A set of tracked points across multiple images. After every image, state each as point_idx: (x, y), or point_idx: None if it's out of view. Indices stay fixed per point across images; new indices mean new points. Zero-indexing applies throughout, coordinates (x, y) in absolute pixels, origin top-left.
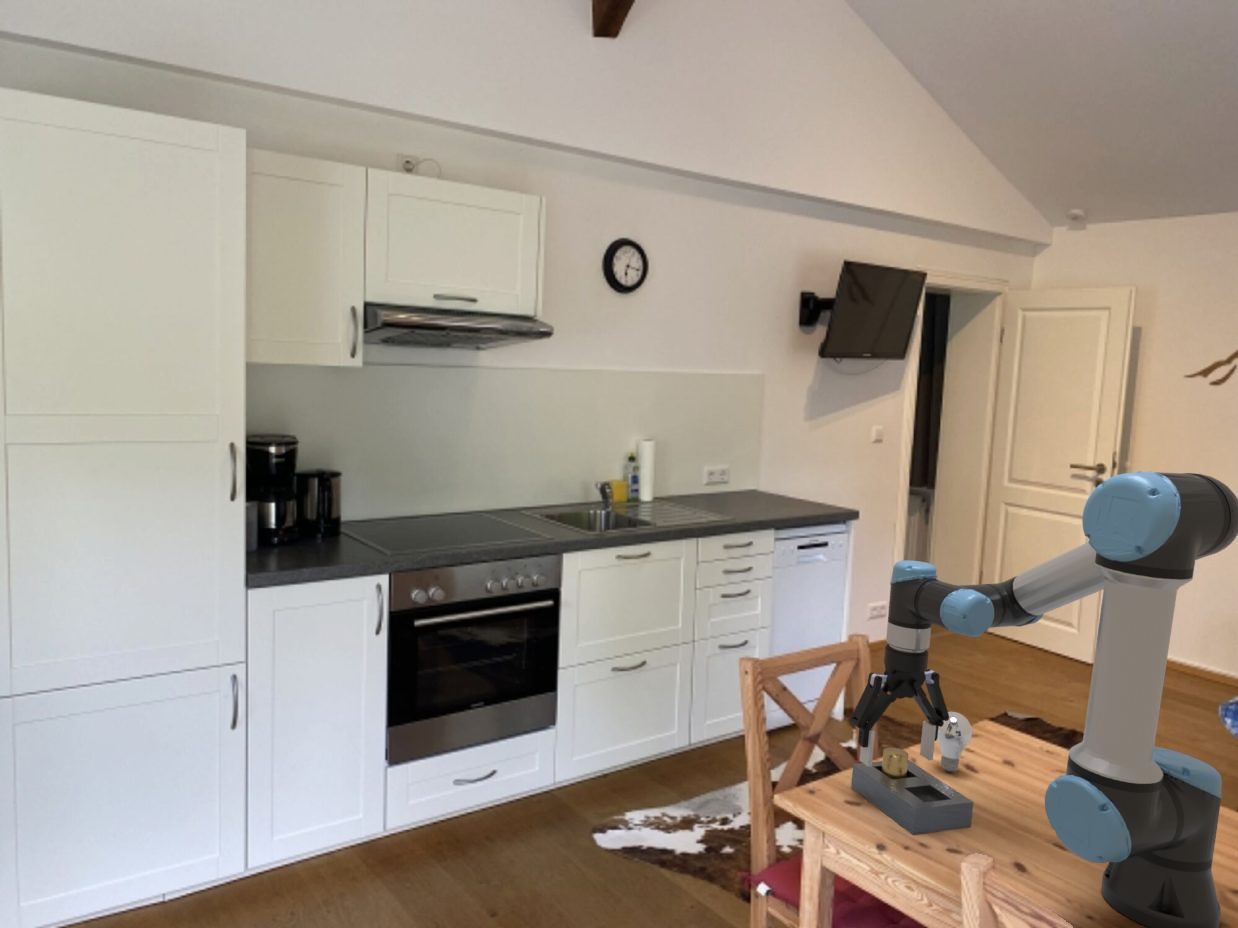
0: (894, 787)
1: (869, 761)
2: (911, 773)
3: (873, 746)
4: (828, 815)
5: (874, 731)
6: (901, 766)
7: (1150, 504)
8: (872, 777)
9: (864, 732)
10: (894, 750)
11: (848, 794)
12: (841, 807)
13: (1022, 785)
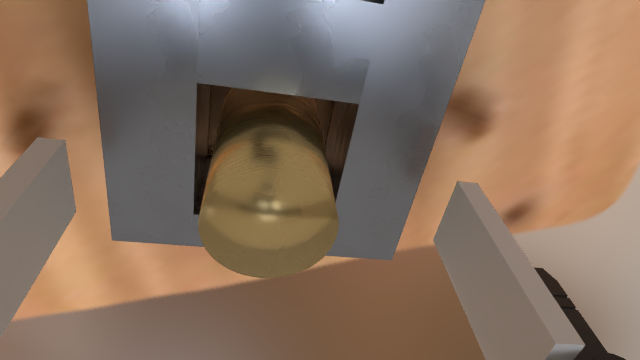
0: (425, 29)
1: (482, 198)
2: (195, 127)
3: (504, 255)
4: (632, 72)
5: (561, 341)
6: (284, 143)
7: None
8: (426, 150)
9: (600, 349)
10: (255, 248)
11: None
12: (535, 102)
13: None
